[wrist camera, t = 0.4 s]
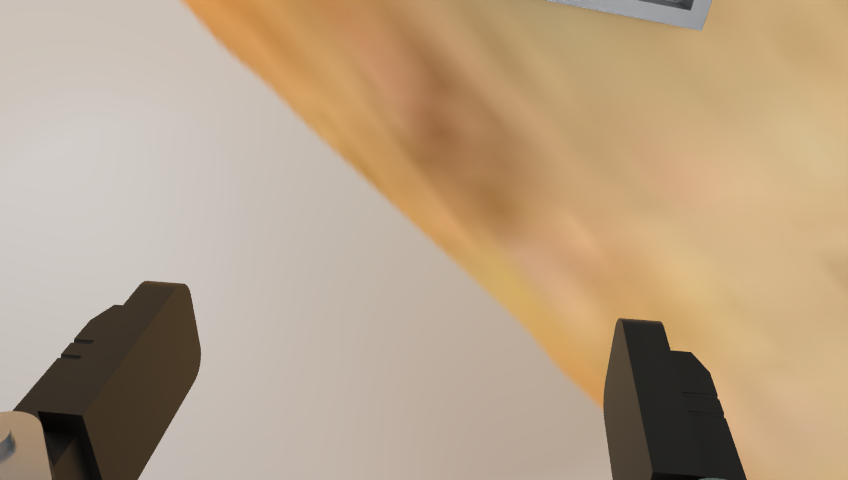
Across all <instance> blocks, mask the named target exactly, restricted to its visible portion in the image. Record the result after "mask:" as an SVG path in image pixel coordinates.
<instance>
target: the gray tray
mask: <svg viewBox="0 0 848 480" xmlns="http://www.w3.org/2000/svg"><path fill="white" fill-rule="evenodd" d="M546 1H551V2H556V3H561V4H567V5H572V6H577V7H582V8H587V9H592V10H597V11H602V12H608V13H613V14H618V15H623V16H628V17H633V18H638V19H643V20H649V21H654V22H659V23H664V24H669V25H674V26H679V27H684V28H690V29H695V30H700V31H702V29H703V26H704V23H705V20H706V17H707V14H708V11H709V8H710V5H711V2H712V0H546Z"/></svg>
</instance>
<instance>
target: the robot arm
mask: <svg viewBox="0 0 848 480" xmlns="http://www.w3.org/2000/svg"><path fill="white" fill-rule="evenodd" d="M200 360H201V348H200V342H199V337H198V332H197V326H196V320H195V315H194V310H193V304H192V299H191V294H190V291H189V288H188V287H187V285H185V284H179V283H167V282H154V281H144V282H143V283H141V284H140V285H139V287H138V288H137V289H136V290H135V292H134V293H133V294H132V295H131V296H130V298H129V299H128V300H127V301H126V302H125V304H124V305H114V306H112V307H110V308H109V309H107V310H106V311H104V312H103V313H101V314H99V315H98V316H96V317H95V318H93V319H91V320H90V321H89V322H88V324H87V325H86V326H85V327H84V328H83V329H82V330H81V332H80V333H79V334H78V335H77V336H76V337H75V339H74V343H70V344H69V346H68V347H67V348H66V349H65V350H64V352H63V353H62V354H61V358H58V359H57V360H56V361H55V362H54V363H53V364H52V365H51V367H50V368H49V369H48V370H47V371H46V373H45V374H44V375H43V376H42V377H41V378H40V379H39V381H38V382H37V383H36V384H35V385H34V386H33V388H32V389H31V390H30V391H29V393H27V395H26V396H25V397H24V398H23V399H22V400H21V402H20V403H19V404H18V405H17V406H16V408H15V409H14V410H13V411H10V412H1V413H0V480H137V479H138V478H139V476H140V474H141V473H142V471H143V469H144V468H145V466H146V464H147V462H148V461H149V459H150V457H151V455H152V454H153V452H154V450H155V449H156V447H157V445H158V443H159V442H160V440H161V438H162V437H163V435H164V433H165V431H166V430H167V428H168V426H169V424H170V423H171V421H172V419H173V418H174V416H175V414H176V412H177V411H178V409H179V407H180V405H181V404H182V402H183V400H184V399H185V397H186V395H187V393H188V392H189V390H190V388H191V386H192V385H193V383H194V381H195V379H196V377H197V374H198V371H199V367H200ZM717 396H718V395H717V392H716V389H715V386H714V383H713V380H712V377H711V374H710V372H709V371H708V370H707V369H706V368H705V367H704V366H703V365H702V364H701V362H700V361H699V360H698V359H697V358H696V357H695V356H694V355H693V354H692V353H691V352H683V351H671V350H670V347H669V343H668V340H667V336H666V333H665V329H664V326H663V324H662V322H660V321H648V320H635V319H622V318H619V319H618V320H617V323H616V327H615V332H614V337H613V343H612V348H611V354H610V359H609V365H608V370H607V376H606V381H605V388H604V420H605V427H606V435H607V442H608V449H609V456H610V463H611V470H612V477H613V480H747V479H746V476H745V473H744V470H743V467H742V464H741V462H740V459H739V456H738V453H737V450H736V447H735V444H734V441H733V438H732V435H731V432H730V430H729V427H728V424H727V421H726V418H724V412H723V409H722V406H721V403H720V401H719V400H718V399H717Z"/></svg>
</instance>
